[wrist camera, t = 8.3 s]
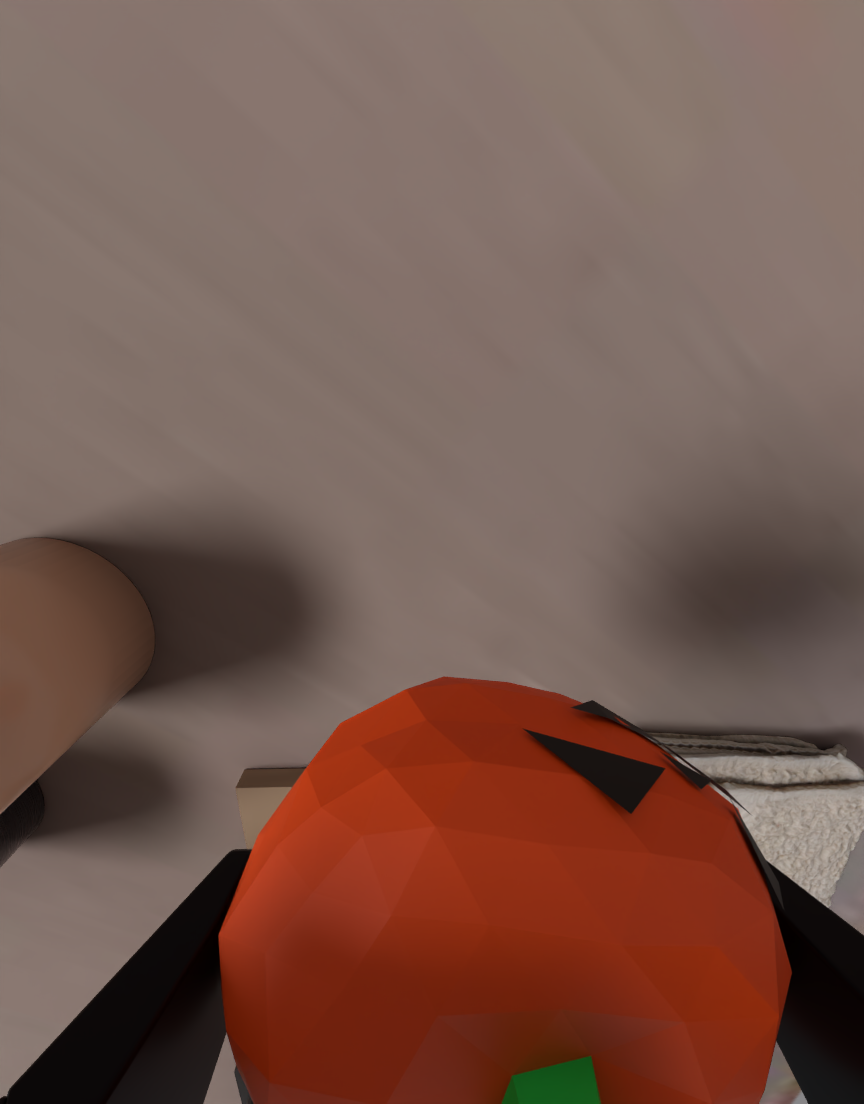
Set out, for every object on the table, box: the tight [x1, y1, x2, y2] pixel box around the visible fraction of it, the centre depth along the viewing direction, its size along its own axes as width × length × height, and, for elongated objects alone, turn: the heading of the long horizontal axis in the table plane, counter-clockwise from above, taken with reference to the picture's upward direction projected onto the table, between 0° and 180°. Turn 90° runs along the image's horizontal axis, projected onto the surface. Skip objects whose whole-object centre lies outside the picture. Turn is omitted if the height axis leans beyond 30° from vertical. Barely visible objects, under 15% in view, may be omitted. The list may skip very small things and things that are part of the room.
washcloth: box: [645, 733, 864, 907], centre depth 21 cm, size 12×18×3 cm, turn 178°
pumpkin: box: [219, 677, 792, 1104], centre depth 7 cm, size 7×8×6 cm
